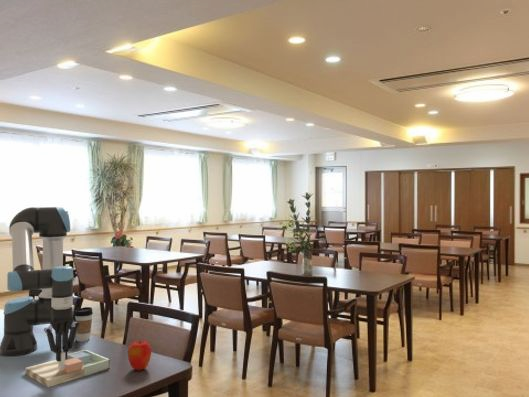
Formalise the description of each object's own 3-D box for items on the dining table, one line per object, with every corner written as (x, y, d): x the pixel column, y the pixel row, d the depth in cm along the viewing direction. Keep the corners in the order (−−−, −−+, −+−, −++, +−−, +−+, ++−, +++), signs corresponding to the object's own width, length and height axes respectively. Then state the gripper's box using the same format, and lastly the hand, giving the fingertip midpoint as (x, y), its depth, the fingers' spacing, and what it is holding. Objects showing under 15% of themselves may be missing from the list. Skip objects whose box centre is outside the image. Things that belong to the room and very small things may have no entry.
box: (60, 364, 190) (60, 356, 190) (85, 357, 198) (85, 349, 198) (84, 376, 178) (84, 367, 178) (109, 368, 186) (109, 359, 186)
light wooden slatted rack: (25, 374, 179) (25, 367, 179) (60, 364, 190) (60, 358, 190) (48, 387, 167) (48, 380, 167) (84, 376, 178) (84, 369, 178)
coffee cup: (96, 338, 225) (96, 308, 225) (81, 343, 218) (81, 311, 218) (85, 336, 229) (85, 306, 229) (70, 340, 222) (70, 309, 222)
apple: (122, 370, 184) (123, 340, 184) (140, 364, 191) (140, 335, 191) (138, 375, 178) (138, 344, 178) (155, 368, 186) (156, 339, 186)
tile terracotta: (59, 369, 178) (59, 361, 178) (74, 365, 182) (74, 357, 182) (67, 373, 174) (67, 365, 174) (82, 368, 179) (82, 361, 179)
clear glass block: (68, 362, 191) (69, 355, 191) (82, 358, 195) (82, 351, 195) (76, 365, 187) (76, 358, 187) (89, 362, 192) (89, 354, 192)
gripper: (49, 311, 168) (49, 376, 168) (83, 305, 178) (82, 366, 178) (40, 308, 173) (39, 371, 173) (73, 302, 183) (73, 362, 183)
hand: (61, 368), depth 175 cm, fingers closed
